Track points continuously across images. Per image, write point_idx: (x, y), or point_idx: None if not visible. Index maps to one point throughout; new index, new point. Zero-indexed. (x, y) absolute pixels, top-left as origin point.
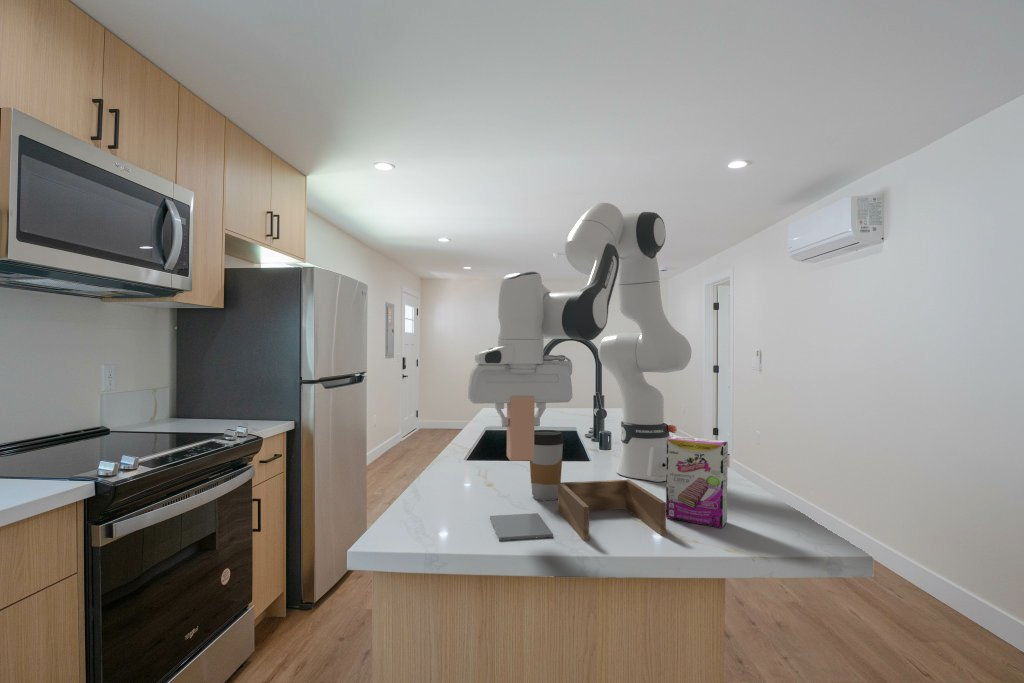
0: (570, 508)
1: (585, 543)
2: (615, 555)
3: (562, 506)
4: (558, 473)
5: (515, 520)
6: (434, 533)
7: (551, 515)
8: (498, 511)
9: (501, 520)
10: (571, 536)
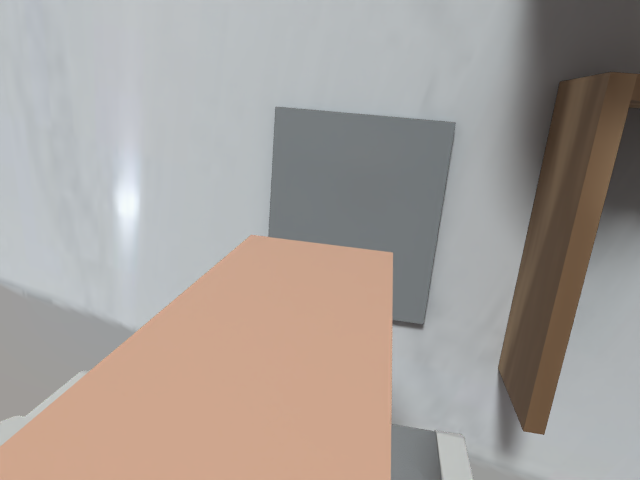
0: (541, 263)
1: (493, 385)
2: (527, 471)
3: (557, 151)
4: None
5: (349, 178)
6: (103, 192)
7: (509, 126)
8: (327, 26)
9: (303, 166)
10: (479, 329)
